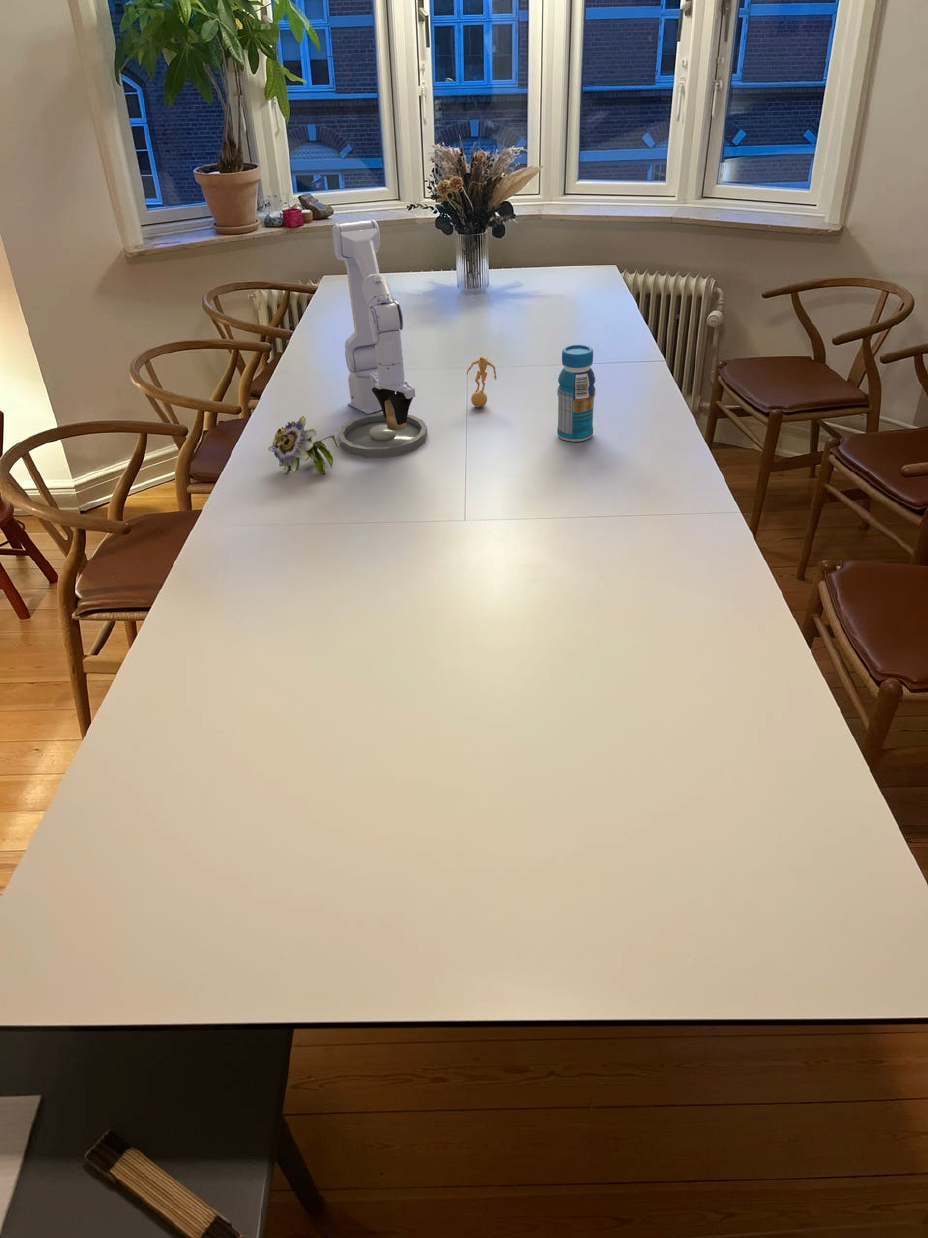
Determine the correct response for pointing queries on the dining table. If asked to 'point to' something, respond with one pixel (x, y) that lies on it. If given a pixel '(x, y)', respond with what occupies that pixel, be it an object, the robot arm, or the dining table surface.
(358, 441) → the round tray
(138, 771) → the dining table surface
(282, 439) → the passion flower
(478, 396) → the figurine
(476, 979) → the dining table surface
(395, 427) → the oak bead
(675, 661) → the dining table surface
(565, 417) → the beverage bottle
